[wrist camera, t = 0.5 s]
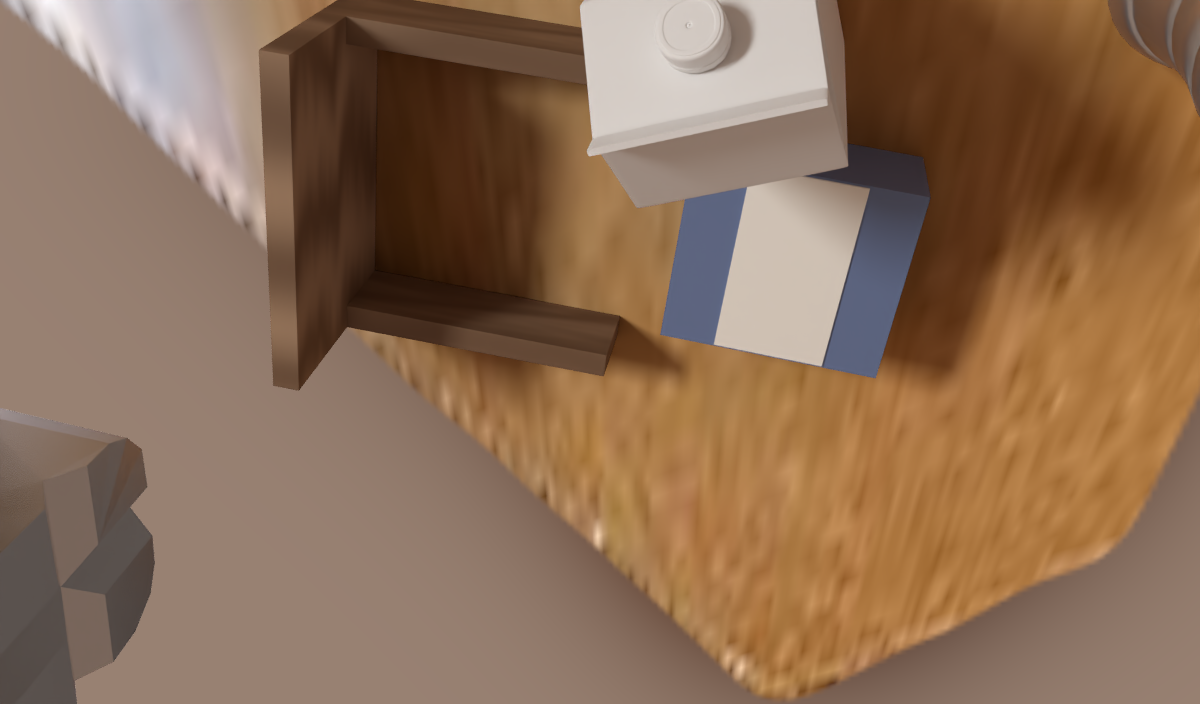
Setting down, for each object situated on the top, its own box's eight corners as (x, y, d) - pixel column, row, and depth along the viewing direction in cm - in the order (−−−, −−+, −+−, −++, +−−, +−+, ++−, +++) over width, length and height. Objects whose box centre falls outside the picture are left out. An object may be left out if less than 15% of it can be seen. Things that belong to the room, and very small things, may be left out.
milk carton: (845, 43, 49) (850, 217, 33) (686, 79, 51) (618, 260, 35) (814, -128, 46) (803, -27, 30) (646, -82, 48) (551, 35, 32)
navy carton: (704, 115, 52) (693, 153, 48) (922, 155, 51) (930, 198, 47) (673, 286, 57) (660, 335, 53) (872, 325, 56) (875, 379, 52)
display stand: (352, -10, 52) (258, 50, 43) (658, 40, 51) (623, 112, 42) (352, 286, 60) (273, 385, 51) (616, 336, 59) (580, 446, 50)
